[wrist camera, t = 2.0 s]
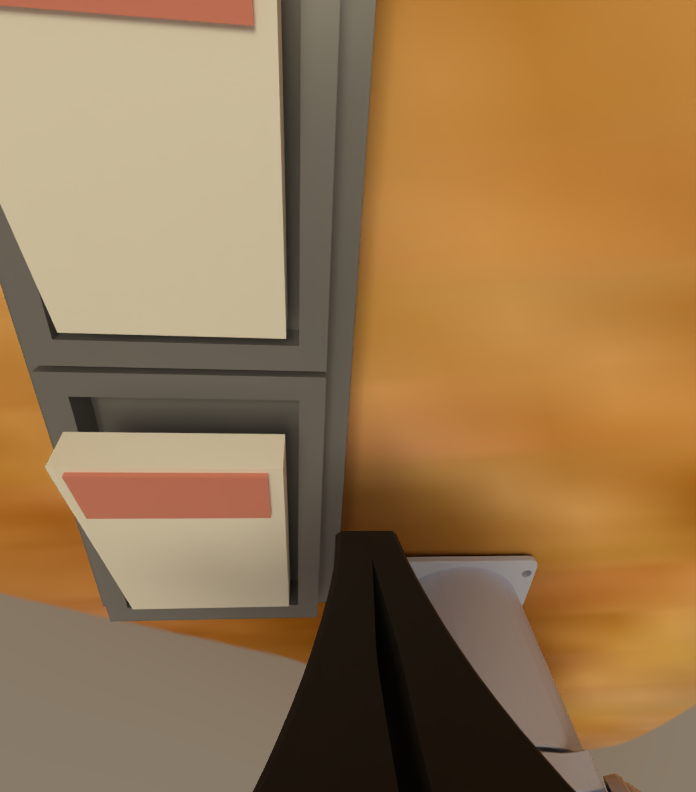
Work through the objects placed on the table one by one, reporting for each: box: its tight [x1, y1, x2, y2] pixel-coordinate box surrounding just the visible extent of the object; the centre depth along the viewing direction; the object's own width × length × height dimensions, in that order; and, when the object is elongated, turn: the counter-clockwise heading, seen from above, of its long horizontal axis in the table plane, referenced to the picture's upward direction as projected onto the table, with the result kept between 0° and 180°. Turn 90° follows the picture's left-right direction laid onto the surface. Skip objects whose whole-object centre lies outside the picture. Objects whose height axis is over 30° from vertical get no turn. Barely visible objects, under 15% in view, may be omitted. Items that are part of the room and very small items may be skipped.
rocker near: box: [0, 0, 288, 339], centre depth 10 cm, size 9×6×1 cm, turn 177°
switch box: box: [0, 0, 376, 621], centre depth 16 cm, size 24×10×5 cm, turn 177°
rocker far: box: [45, 432, 290, 609], centre depth 16 cm, size 9×6×1 cm, turn 177°
